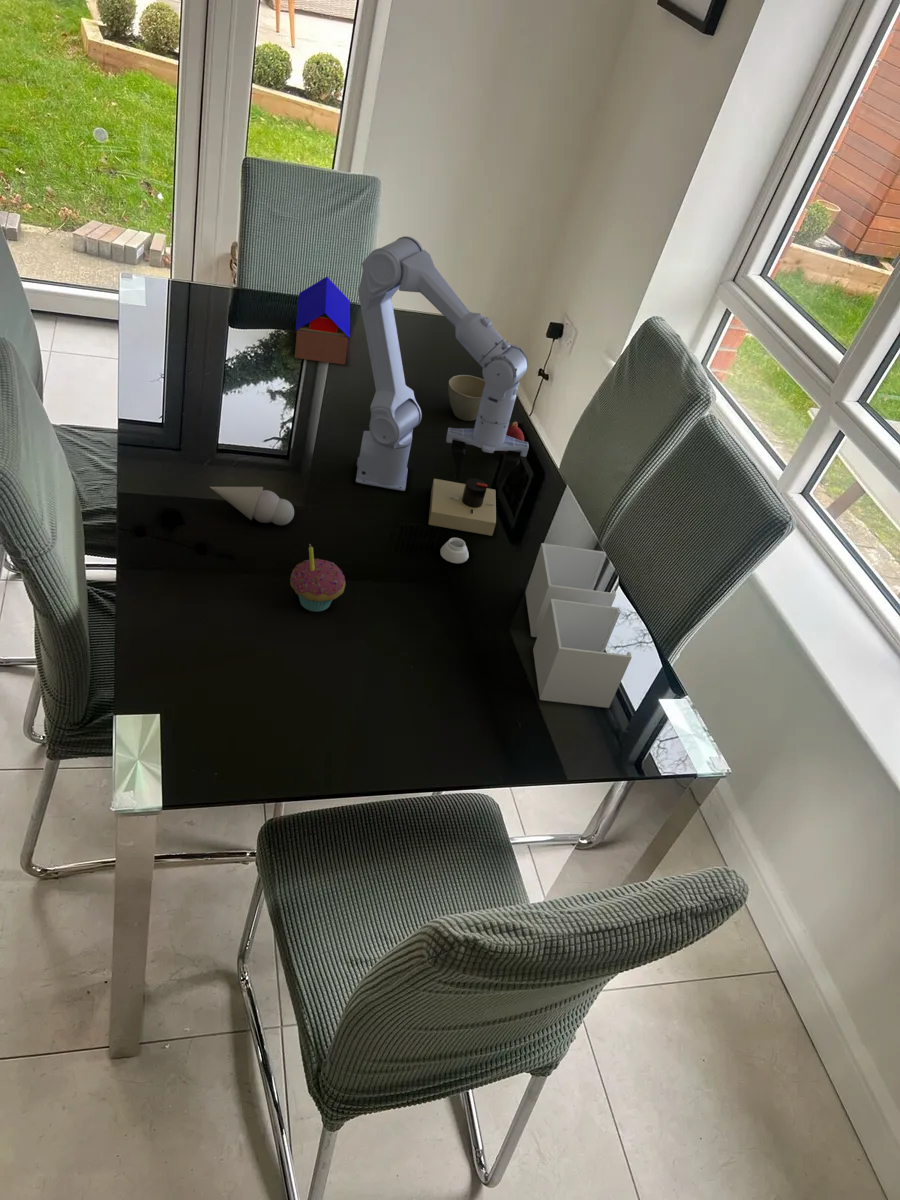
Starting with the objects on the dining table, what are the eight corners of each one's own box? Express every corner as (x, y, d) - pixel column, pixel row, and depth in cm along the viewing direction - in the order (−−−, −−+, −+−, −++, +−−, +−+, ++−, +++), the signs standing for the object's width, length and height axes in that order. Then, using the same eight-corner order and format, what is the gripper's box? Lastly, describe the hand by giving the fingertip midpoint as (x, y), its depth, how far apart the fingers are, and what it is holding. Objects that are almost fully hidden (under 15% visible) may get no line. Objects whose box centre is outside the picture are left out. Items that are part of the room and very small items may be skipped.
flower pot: (495, 416, 202) (502, 388, 198) (472, 432, 195) (479, 402, 191) (458, 398, 205) (464, 369, 201) (434, 413, 198) (440, 383, 194)
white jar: (453, 543, 164) (434, 553, 161) (456, 530, 162) (437, 540, 159) (473, 558, 162) (454, 568, 159) (476, 545, 160) (457, 555, 157)
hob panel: (428, 524, 167) (431, 510, 165) (431, 491, 175) (434, 477, 173) (492, 536, 168) (496, 522, 166) (492, 502, 176) (495, 488, 174)
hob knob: (461, 505, 168) (465, 487, 165) (461, 493, 171) (466, 475, 168) (482, 509, 168) (487, 491, 166) (482, 497, 172) (487, 479, 169)
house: (293, 358, 205) (297, 308, 197) (296, 319, 219) (301, 272, 212) (346, 365, 207) (352, 317, 199) (346, 326, 222) (352, 280, 214)
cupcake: (298, 623, 141) (305, 564, 133) (280, 588, 146) (286, 529, 138) (350, 613, 145) (359, 555, 137) (330, 580, 150) (338, 521, 142)
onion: (517, 466, 188) (526, 433, 183) (490, 459, 188) (499, 425, 183) (521, 453, 193) (530, 420, 187) (494, 445, 193) (503, 412, 188)
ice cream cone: (205, 504, 158) (288, 533, 161) (201, 502, 152) (287, 532, 155) (216, 471, 158) (299, 500, 161) (212, 468, 152) (299, 498, 155)
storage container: (525, 592, 157) (541, 542, 150) (586, 601, 159) (605, 552, 152) (539, 699, 138) (559, 648, 131) (608, 707, 140) (631, 657, 133)
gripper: (452, 419, 154) (437, 485, 163) (535, 435, 156) (516, 500, 164) (453, 399, 160) (439, 464, 168) (534, 414, 161) (515, 478, 170)
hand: (477, 480), depth 167 cm, fingers open, 7 cm apart
